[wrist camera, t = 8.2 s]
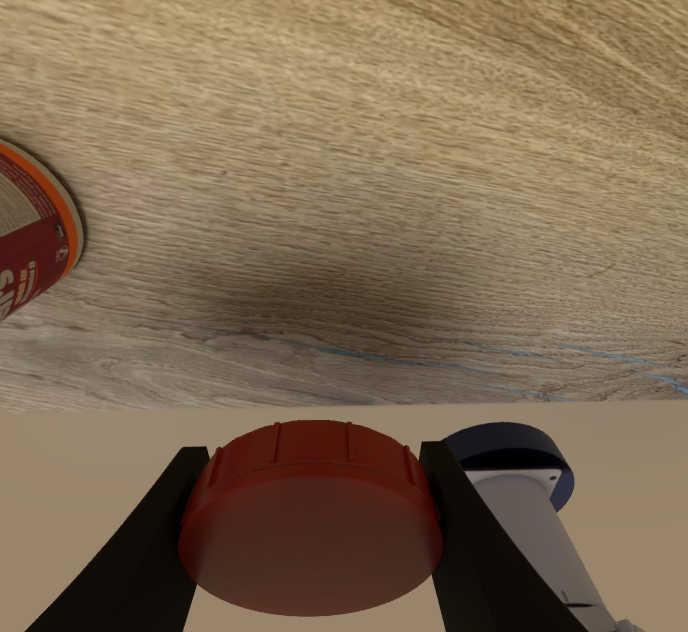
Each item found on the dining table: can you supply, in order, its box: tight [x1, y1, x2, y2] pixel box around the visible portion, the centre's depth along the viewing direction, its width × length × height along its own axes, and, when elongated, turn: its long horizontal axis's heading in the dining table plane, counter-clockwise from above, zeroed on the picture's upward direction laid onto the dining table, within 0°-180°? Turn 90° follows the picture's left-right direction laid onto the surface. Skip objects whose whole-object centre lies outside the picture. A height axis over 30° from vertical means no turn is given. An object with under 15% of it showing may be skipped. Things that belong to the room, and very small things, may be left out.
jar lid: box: [178, 420, 444, 617], centre depth 9 cm, size 6×6×1 cm
